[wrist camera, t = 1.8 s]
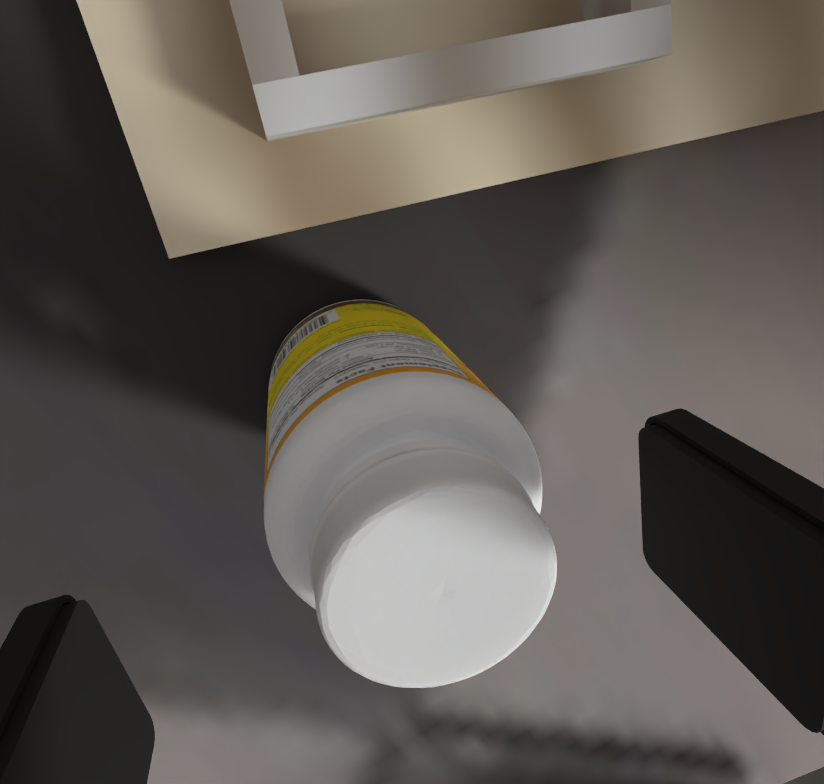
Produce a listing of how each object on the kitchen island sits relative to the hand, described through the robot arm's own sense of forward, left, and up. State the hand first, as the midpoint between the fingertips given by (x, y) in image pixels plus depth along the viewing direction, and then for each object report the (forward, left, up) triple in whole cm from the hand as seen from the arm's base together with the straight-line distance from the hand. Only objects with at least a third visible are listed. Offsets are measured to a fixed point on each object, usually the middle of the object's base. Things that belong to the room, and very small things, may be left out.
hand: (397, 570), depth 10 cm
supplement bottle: (-1, 0, -10) cm, 10 cm away
